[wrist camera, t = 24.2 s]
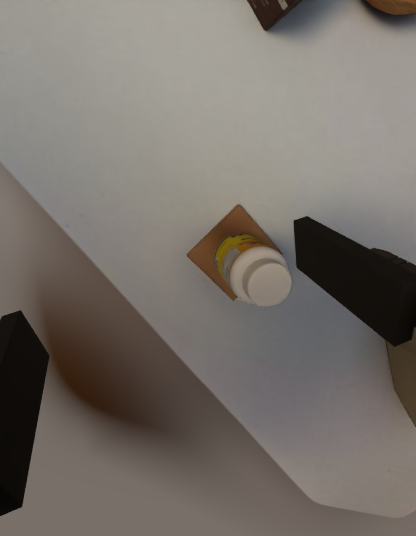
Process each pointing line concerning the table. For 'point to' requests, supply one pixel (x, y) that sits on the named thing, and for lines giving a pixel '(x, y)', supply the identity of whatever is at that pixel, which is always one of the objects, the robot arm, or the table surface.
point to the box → (271, 10)
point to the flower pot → (405, 373)
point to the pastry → (394, 6)
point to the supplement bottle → (253, 270)
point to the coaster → (228, 225)
